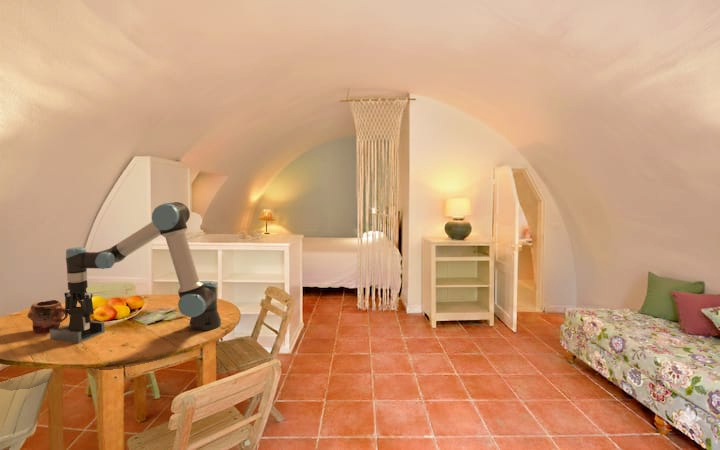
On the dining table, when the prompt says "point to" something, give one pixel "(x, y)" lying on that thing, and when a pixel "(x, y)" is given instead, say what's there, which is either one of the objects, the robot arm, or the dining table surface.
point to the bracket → (76, 333)
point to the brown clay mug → (46, 316)
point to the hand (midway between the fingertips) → (80, 328)
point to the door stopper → (77, 320)
